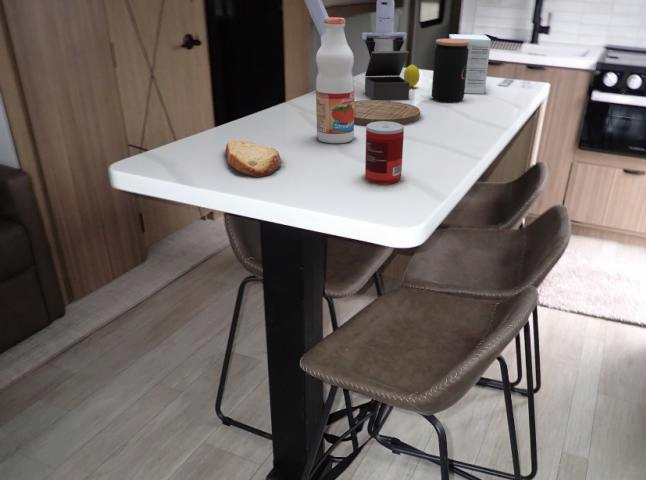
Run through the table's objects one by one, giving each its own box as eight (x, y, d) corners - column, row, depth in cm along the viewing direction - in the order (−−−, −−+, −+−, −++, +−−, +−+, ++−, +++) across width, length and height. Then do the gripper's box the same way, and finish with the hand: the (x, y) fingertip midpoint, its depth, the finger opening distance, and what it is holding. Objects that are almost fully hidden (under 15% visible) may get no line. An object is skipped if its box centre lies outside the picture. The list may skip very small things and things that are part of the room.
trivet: (406, 130, 161) (407, 123, 160) (321, 120, 167) (321, 113, 166) (428, 111, 181) (429, 104, 180) (351, 103, 188) (352, 97, 187)
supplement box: (444, 85, 218) (448, 33, 209) (480, 86, 217) (486, 34, 208) (447, 92, 206) (451, 38, 197) (485, 94, 206) (491, 39, 197)
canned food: (399, 172, 129) (402, 121, 124) (402, 184, 122) (405, 131, 117) (364, 172, 129) (365, 120, 123) (365, 184, 122) (366, 130, 116)
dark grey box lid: (408, 52, 190) (406, 41, 191) (372, 53, 187) (370, 42, 188) (399, 75, 202) (397, 65, 202) (365, 76, 199) (363, 65, 200)
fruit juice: (329, 132, 157) (328, 15, 143) (360, 137, 153) (362, 18, 139) (309, 140, 150) (306, 18, 136) (341, 146, 146) (341, 20, 132)
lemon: (400, 86, 214) (401, 63, 210) (414, 85, 216) (415, 62, 212) (407, 89, 210) (409, 65, 206) (421, 88, 212) (423, 64, 208)
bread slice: (235, 147, 143) (234, 131, 141) (302, 156, 137) (302, 140, 136) (190, 168, 128) (188, 151, 127) (263, 179, 123) (262, 162, 121)
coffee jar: (465, 103, 192) (471, 43, 183) (432, 102, 192) (437, 42, 183) (461, 96, 201) (467, 39, 192) (430, 95, 201) (434, 38, 192)
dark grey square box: (408, 99, 195) (409, 82, 192) (373, 100, 192) (373, 83, 190) (398, 92, 205) (399, 76, 202) (364, 93, 202) (365, 76, 199)
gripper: (366, 18, 186) (365, 65, 193) (410, 19, 189) (407, 64, 196) (360, 16, 192) (360, 61, 199) (403, 17, 195) (401, 61, 202)
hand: (383, 62), depth 198 cm, fingers open, 7 cm apart
